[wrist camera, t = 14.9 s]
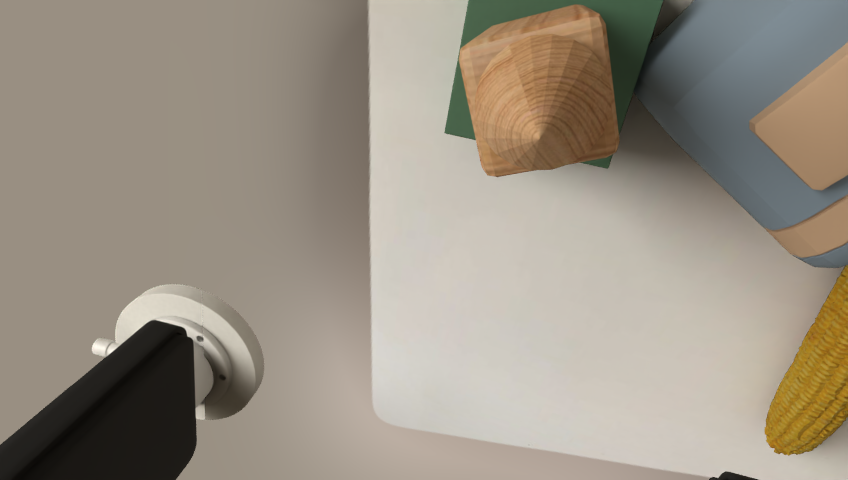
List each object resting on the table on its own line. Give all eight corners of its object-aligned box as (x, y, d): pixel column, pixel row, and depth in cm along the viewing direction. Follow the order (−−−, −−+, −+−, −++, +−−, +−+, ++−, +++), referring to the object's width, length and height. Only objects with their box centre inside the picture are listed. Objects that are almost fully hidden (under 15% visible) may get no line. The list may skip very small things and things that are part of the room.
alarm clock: (757, 212, 44) (856, 321, 30) (613, 73, 42) (646, 119, 28) (976, 51, 37) (1241, 93, 23) (815, -128, 35) (999, -204, 21)
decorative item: (599, 104, 37) (645, 211, 20) (502, 124, 39) (464, 238, 21) (586, 1, 35) (625, 16, 17) (483, 27, 37) (423, 65, 19)
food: (847, 224, 43) (888, 257, 38) (925, 239, 42) (978, 275, 37) (743, 423, 52) (765, 473, 47) (806, 438, 52) (835, 490, 46)
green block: (456, 116, 46) (444, 133, 40) (487, -45, 40) (477, -49, 35) (601, 146, 44) (608, 168, 39) (652, -15, 39) (668, -15, 34)
